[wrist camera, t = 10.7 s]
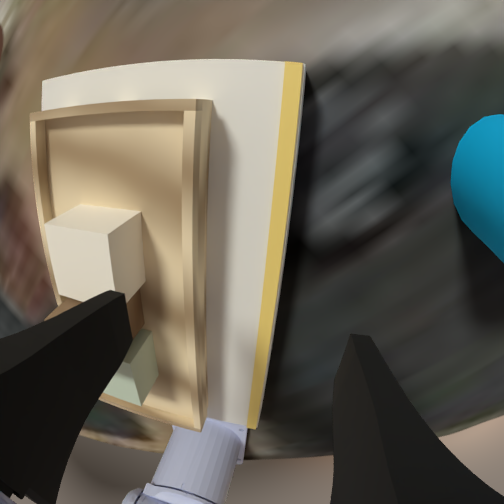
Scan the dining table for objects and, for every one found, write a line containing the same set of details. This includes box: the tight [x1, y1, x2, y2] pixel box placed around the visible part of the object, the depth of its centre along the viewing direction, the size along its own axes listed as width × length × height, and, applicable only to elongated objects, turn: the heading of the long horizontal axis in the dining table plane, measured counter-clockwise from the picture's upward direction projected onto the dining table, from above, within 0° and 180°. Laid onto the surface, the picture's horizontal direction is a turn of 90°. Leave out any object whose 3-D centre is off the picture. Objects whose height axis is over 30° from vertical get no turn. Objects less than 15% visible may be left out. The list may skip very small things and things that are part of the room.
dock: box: [42, 59, 306, 429], centre depth 20 cm, size 26×16×3 cm, turn 176°
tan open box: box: [30, 99, 212, 433], centre depth 16 cm, size 22×10×7 cm, turn 176°
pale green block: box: [103, 329, 159, 406], centre depth 18 cm, size 4×4×3 cm
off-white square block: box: [44, 204, 146, 303], centre depth 15 cm, size 4×4×3 cm
